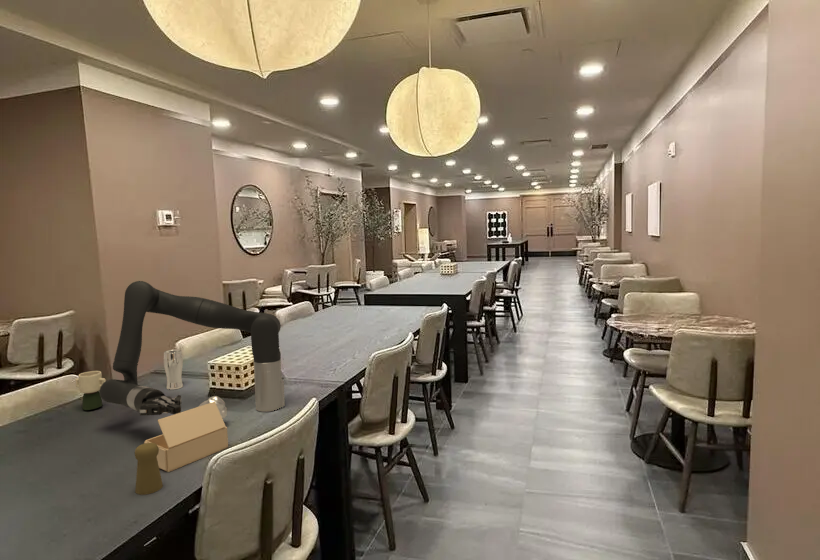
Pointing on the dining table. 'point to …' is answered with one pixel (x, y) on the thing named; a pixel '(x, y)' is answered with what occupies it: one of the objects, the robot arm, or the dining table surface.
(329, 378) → the dining table surface
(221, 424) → the flap
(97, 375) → the trophy cup
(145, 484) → the cork
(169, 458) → the carton
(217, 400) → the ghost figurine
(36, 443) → the dining table surface
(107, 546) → the dining table surface
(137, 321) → the robot arm
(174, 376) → the beer glass
